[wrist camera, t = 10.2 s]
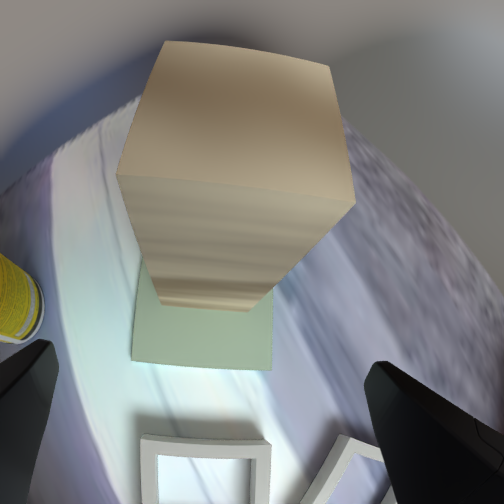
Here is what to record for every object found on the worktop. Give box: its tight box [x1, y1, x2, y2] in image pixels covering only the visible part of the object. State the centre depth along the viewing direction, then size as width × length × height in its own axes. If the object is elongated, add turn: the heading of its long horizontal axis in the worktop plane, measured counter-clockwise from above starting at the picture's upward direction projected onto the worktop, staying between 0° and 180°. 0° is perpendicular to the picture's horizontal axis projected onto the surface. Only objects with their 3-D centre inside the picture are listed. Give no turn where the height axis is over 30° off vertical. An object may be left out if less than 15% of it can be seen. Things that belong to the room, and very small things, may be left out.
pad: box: [131, 256, 273, 370], centre depth 19 cm, size 8×8×1 cm
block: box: [116, 41, 356, 312], centre depth 13 cm, size 5×5×13 cm
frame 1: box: [140, 434, 272, 504], centre depth 14 cm, size 7×7×2 cm
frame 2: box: [299, 434, 397, 504], centre depth 15 cm, size 7×7×2 cm
